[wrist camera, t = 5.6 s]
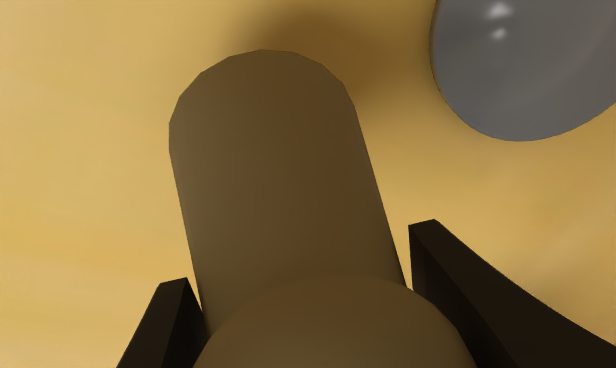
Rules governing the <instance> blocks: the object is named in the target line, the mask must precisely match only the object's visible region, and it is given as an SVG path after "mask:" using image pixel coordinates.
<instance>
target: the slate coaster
mask: <svg viewBox="0 0 616 368" xmlns="http://www.w3.org/2000/svg"><path fill="white" fill-rule="evenodd" d="M429 53H430V64H431V68H432V73H433V77H434V80H435V82H436V85H437V87H438V90H439V92H440V93H441V95H442V97H443V98H444V100H445V101H446V103H447V104H448V105H449V106H450V107H451V109H452V110H453V111H454V112H455V113H456V114H457V115H458V116H459V117H460V118H461V119H462V120H463V121H464V122H465V123H466V124H468V125H469V126H470V127H472V128H473V129H475V130H477V131H478V132H480V133H482V134H485V135H487V136H490V137H492V138H497V139H501V140H507V141H533V140H539V139H545V138H549V137H552V136H556V135H559V134H562V133H565V132H567V131H570V130H572V129H574V128H576V127H578V126H580V125H582V124H584V123H586V122H588V121H590V120H591V119H593V118H594V117H596V116H598V115H599V114H601V113H602V112H604V111H605V110H606V109H608V108H609V107H610V106H612V105H613V104H614V103H615V102H616V0H437V2H436V6H435V9H434V12H433V16H432V22H431V28H430V39H429Z"/></svg>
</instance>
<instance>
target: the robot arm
mask: <svg viewBox="0 0 616 368" xmlns="http://www.w3.org/2000/svg"><path fill="white" fill-rule="evenodd" d="M408 229H409V243H410V258H411V272H412V287H413V290H414V292H415V293H417V294H418V295H420V296H421V297H423V298H425V299H426V300H428V301H429V302H431V303H432V304H434V305H435V306H436V307H437V308H438V309H439V310H440V311H441V313H442V314H443V315H444V316H445V317H446V318H447V319H448V320H449V321H450V322H451V323H452V324H453V325H454V326H455V328H456V329H457V331H458V332H459V334H460V336H461V338H462V340H463V341H464V343H465V345H466V347H467V349H468V351H469V352H470V354H471V356H472V358H473V360H474V362H475V364H476V365H477V367H478V368H616V346H614V345H612V344H611V343H609V342H607V341H605V340H603V339H601V338H600V337H598V336H596V335H594V334H592V333H591V332H589V331H587V330H586V329H584V328H582V327H581V326H579V325H577V324H575V323H574V322H572V321H570V320H569V319H567V318H566V317H564V316H562V315H561V314H559V313H558V312H556V311H555V310H553V309H551V308H550V307H548V306H547V305H545V304H544V303H542V302H541V301H539V300H538V299H537V298H535V297H534V296H532V295H531V294H529V293H528V292H526V291H525V290H523V289H522V288H521V287H519V286H518V285H516V284H515V283H514V282H512V281H511V280H510V279H508V278H507V277H506V276H504V275H503V274H502V273H500V272H499V271H498V270H496V269H495V268H494V267H492V266H491V265H490V264H489V263H487V262H486V261H485V260H484V259H482V258H481V257H480V256H478V255H477V254H476V253H475V252H474V251H472V250H471V249H470V248H469V247H468V246H466V245H465V244H464V243H463V242H462V241H460V240H459V239H458V238H457V237H456V236H455V235H453V234H452V233H451V232H450V231H449V230H448V229H446V228H445V227H444V226H443V225H442V224H441V223H440V222H438V221H437V220H435V219H432V220H428V221H423V222H419V223H415V224H411V225H408ZM207 342H208V336H207V331H206V327H205V322H204V317H203V313H202V311H201V308H200V306H199V304H198V301H197V299H196V297H195V295H194V292H193V290H192V288H191V285H190V283H189V281H188V279H187V277H185V278H180V279H176V280H172V281H168V282H163V283H160V284H159V286H158V287H157V289H156V291H155V293H154V295H153V297H152V299H151V301H150V303H149V305H148V307H147V309H146V311H145V314H144V316H143V318H142V320H141V322H140V324H139V326H138V328H137V329H136V331H135V333H134V335H133V337H132V339H131V341H130V343H129V345H128V347H127V349H126V350H125V352H124V354H123V356H122V358H121V360H120V362H119V363H118V365H117V367H116V368H193V366H194V364H195V362H196V361H197V359H198V357H199V356H200V354H201V352H202V351H203V349H204V347H205V345H206V344H207Z"/></svg>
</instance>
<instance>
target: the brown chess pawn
mask: <svg viewBox="0 0 616 368" xmlns="http://www.w3.org/2000/svg"><path fill="white" fill-rule="evenodd" d="M169 153H170V158H171V163H172V167H173V172H174V177H175V182H176V187H177V191H178V196H179V201H180V206H181V211H182V216H183V220H184V225H185V230H186V235H187V240H188V245H189V249H190V254H191V259H192V264H193V269H194V274H195V278H196V283H197V288H198V293H199V298H200V302H201V307H202V312H203V317H204V322H205V327H206V331H207V336H208V342H207V344H206V345H205V347H204V349H203V351H202V352H201V354H200V356H199V357H198V359H197V361H196V362H195V364H194V366H193V368H478V367H477V365H476V364H475V362H474V360H473V358H472V356H471V354H470V352H469V351H468V349H467V347H466V345H465V343H464V341H463V340H462V338H461V336H460V334H459V332H458V331H457V329H456V328H455V326H454V325H453V324H452V323H451V322H450V321H449V320H448V319H447V318H446V317H445V316H444V315H443V314H442V313H441V311H440V310H439V309H438V308H437V307H436V306H435V305H434V304H432V303H431V302H429V301H428V300H426V299H425V298H423V297H421V296H420V295H418V294H417V293H415V292H414V291H412V290H411V289H409V288H407V286H406V282H405V279H404V275H403V272H402V268H401V265H400V262H399V258H398V255H397V251H396V248H395V244H394V241H393V238H392V234H391V231H390V227H389V224H388V220H387V217H386V213H385V210H384V207H383V203H382V200H381V196H380V193H379V189H378V186H377V183H376V179H375V176H374V172H373V169H372V165H371V162H370V159H369V155H368V152H367V148H366V145H365V141H364V138H363V134H362V131H361V128H360V124H359V121H358V117H357V114H356V110H355V107H354V105H353V103H352V101H351V99H350V97H349V95H348V93H347V91H346V89H345V87H344V85H343V83H342V82H341V81H339V80H338V79H337V78H336V77H335V76H334V75H333V74H332V73H331V72H330V71H329V70H328V69H326V68H325V67H324V66H323V65H322V64H320V63H317V62H315V61H313V60H310V59H308V58H306V57H303V56H301V55H299V54H297V53H294V52H283V51H272V50H257V51H253V52H248V53H244V54H239V55H235V56H230V57H228V58H226V59H224V60H222V61H221V62H219V63H217V64H215V65H214V66H212V67H210V68H208V69H207V70H205V71H203V72H201V73H200V74H199V75H198V76H197V77H196V79H195V80H194V81H193V82H192V83H191V84H190V85H189V86H188V88H187V89H186V90H185V91H184V92H183V93H182V94H181V95H180V97H179V99H178V102H177V104H176V107H175V109H174V112H173V114H172V117H171V119H170V122H169Z"/></svg>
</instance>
